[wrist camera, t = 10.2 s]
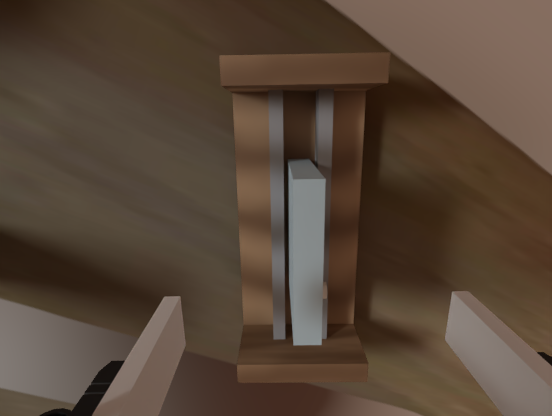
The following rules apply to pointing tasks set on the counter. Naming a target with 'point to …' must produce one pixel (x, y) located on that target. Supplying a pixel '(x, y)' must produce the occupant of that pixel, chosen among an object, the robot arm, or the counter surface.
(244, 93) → the wooden frame
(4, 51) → the counter surface
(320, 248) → the door panel
